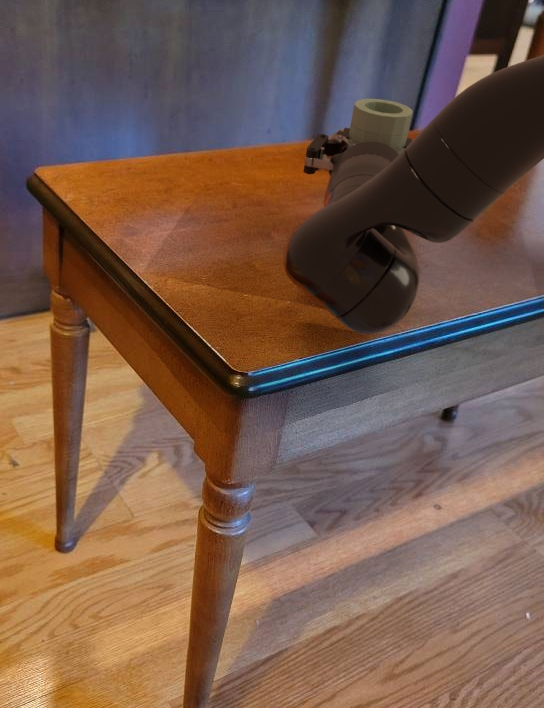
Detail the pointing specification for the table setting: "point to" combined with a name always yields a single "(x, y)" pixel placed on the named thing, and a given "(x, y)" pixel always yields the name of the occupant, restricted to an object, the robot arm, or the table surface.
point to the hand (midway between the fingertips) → (376, 141)
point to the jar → (380, 122)
